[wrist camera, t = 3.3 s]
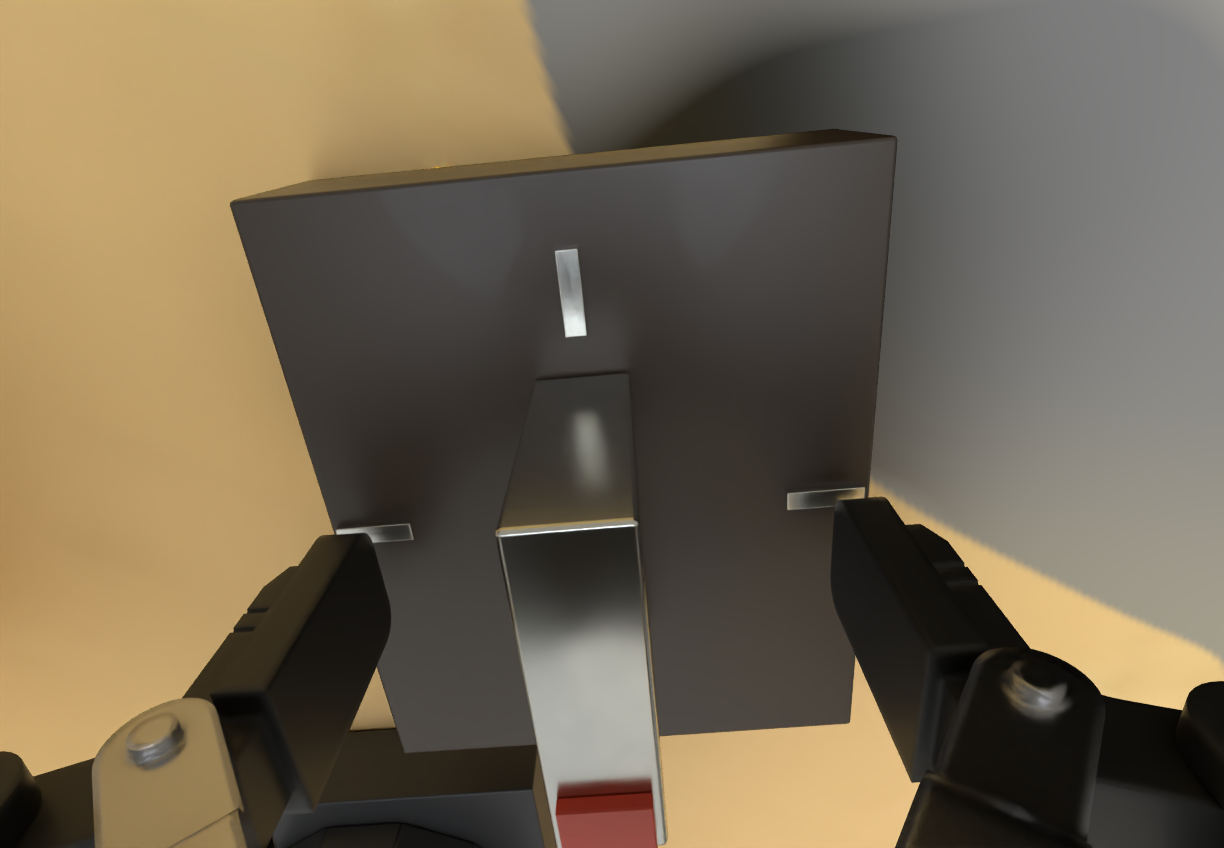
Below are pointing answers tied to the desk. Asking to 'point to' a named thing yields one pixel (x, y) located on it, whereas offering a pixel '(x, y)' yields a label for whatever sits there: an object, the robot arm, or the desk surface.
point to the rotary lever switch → (591, 346)
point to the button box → (425, 799)
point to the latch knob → (585, 613)
